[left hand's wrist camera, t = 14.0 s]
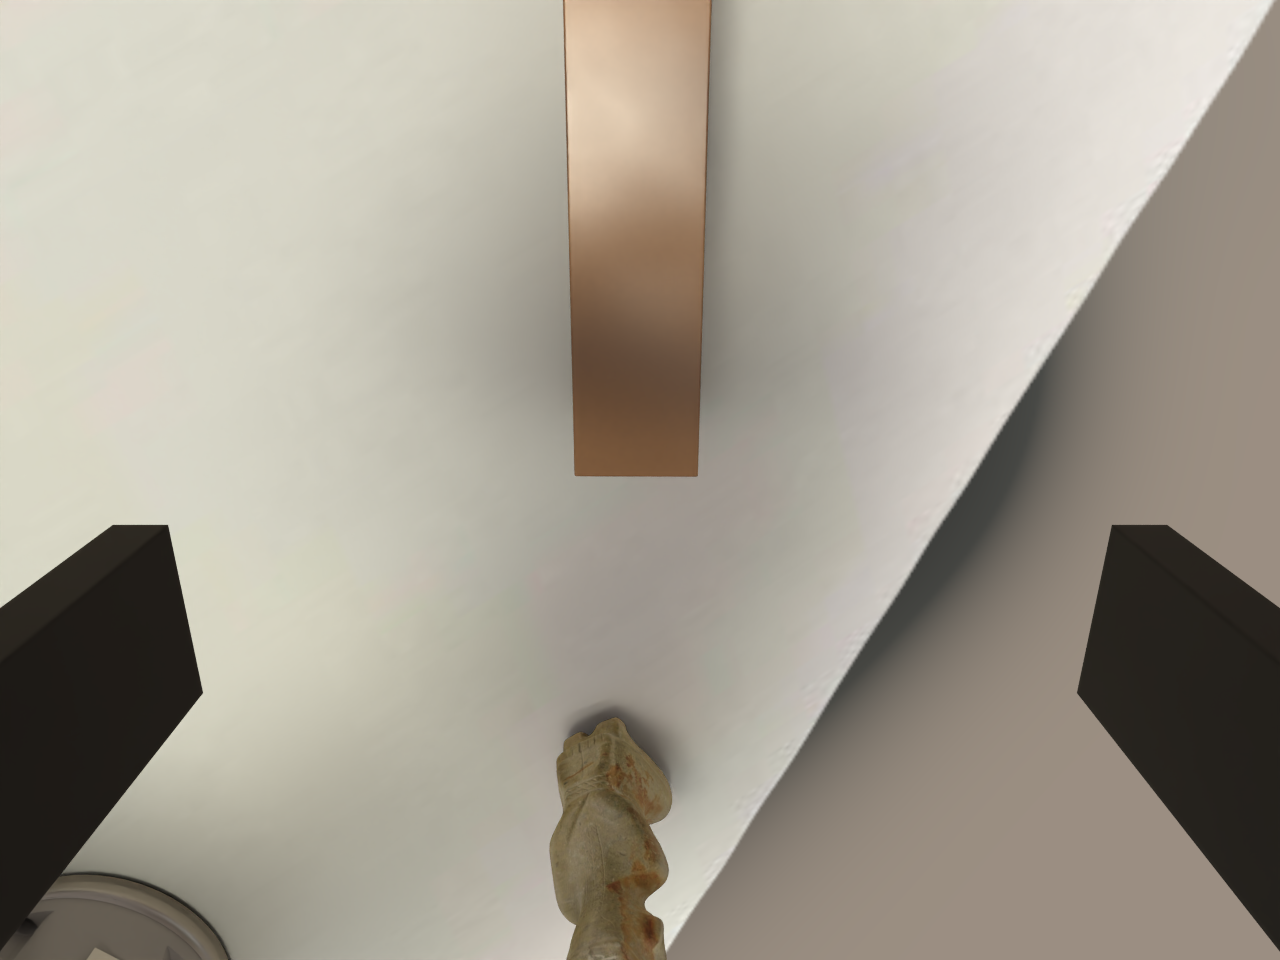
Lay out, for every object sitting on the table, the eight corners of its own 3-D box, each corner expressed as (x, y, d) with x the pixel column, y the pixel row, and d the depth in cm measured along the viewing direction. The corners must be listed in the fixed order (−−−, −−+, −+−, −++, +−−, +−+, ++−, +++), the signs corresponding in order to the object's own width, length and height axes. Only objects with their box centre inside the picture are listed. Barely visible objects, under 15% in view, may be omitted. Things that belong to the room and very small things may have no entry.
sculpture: (597, 820, 53) (582, 1067, 39) (540, 729, 51) (502, 956, 37) (687, 786, 52) (704, 1025, 38) (633, 691, 50) (630, 909, 36)
